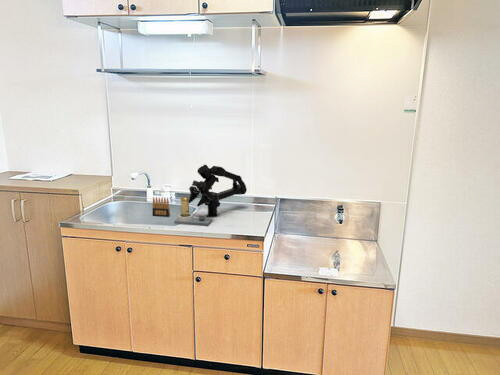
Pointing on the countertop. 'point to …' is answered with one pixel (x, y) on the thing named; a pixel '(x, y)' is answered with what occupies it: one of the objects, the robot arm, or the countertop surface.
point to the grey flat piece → (193, 220)
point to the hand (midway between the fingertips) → (193, 204)
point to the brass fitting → (184, 206)
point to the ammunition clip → (161, 208)
